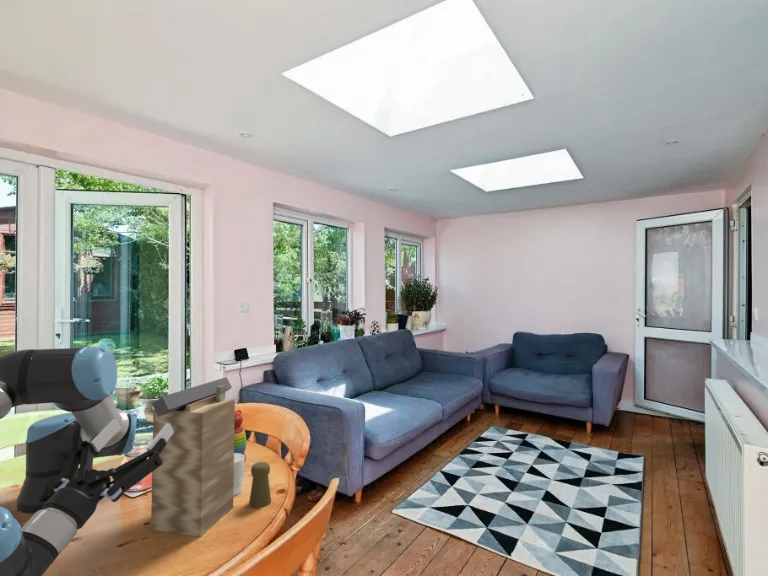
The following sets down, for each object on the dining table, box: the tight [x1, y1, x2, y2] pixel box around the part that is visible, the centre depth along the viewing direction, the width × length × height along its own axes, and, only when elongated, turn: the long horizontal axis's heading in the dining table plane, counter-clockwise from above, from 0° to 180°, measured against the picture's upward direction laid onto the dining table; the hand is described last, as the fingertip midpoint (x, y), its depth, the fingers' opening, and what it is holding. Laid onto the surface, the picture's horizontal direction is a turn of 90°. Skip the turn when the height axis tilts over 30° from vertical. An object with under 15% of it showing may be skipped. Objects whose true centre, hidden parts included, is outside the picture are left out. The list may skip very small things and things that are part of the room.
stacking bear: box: [234, 409, 248, 463], centre depth 143 cm, size 11×10×18 cm
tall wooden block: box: [150, 385, 236, 538], centre depth 107 cm, size 14×14×34 cm
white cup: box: [233, 453, 245, 497], centre depth 121 cm, size 8×8×10 cm
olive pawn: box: [248, 461, 272, 509], centre depth 115 cm, size 6×6×11 cm
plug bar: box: [151, 376, 233, 417], centre depth 107 cm, size 4×24×4 cm
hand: (143, 425), depth 89 cm, fingers open, 13 cm apart
